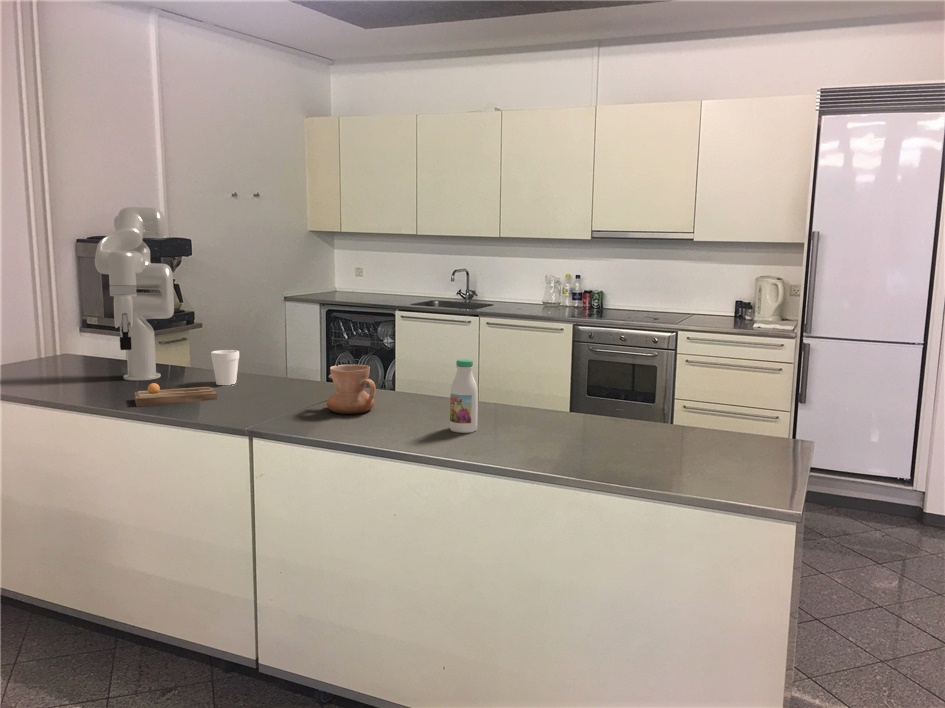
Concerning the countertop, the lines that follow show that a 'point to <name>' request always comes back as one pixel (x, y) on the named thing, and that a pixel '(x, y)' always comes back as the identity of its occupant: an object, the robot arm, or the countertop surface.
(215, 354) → the foam cup
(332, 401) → the ceramic jug
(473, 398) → the milk bottle
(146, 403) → the runway
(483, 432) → the countertop surface
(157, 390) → the ball
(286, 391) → the countertop surface
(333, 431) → the countertop surface
